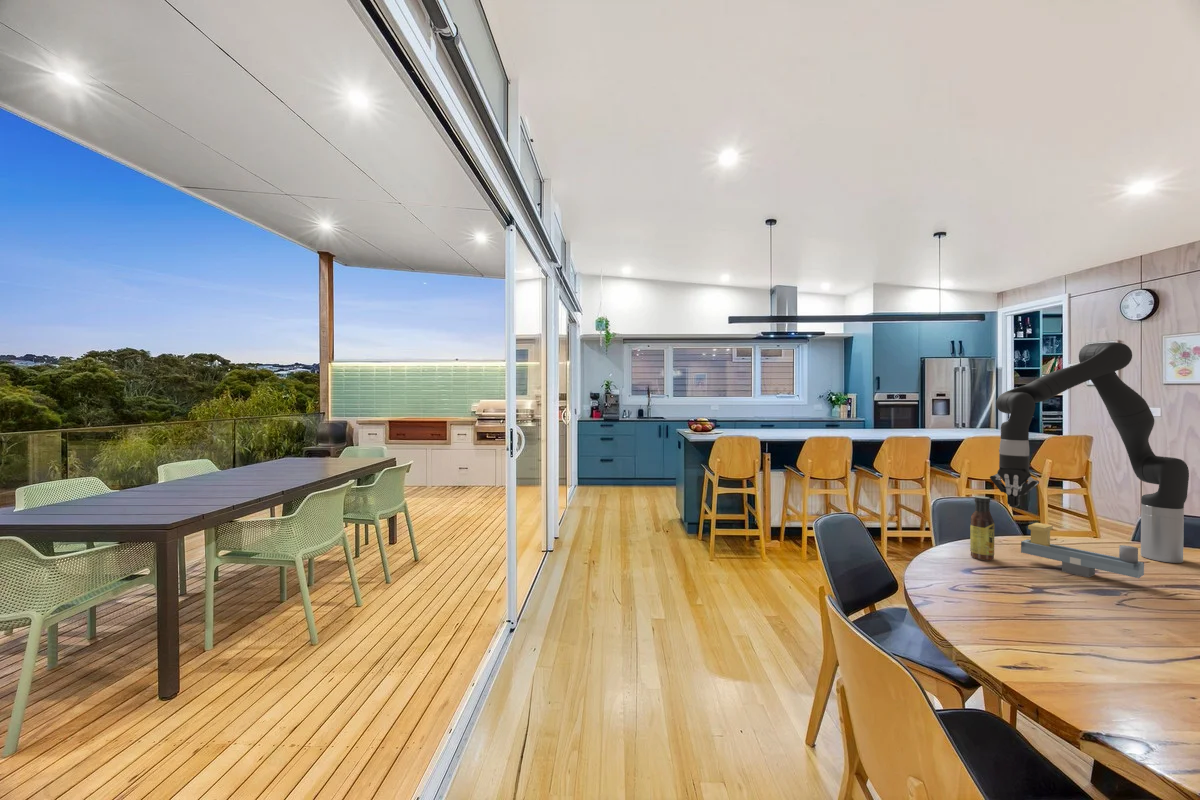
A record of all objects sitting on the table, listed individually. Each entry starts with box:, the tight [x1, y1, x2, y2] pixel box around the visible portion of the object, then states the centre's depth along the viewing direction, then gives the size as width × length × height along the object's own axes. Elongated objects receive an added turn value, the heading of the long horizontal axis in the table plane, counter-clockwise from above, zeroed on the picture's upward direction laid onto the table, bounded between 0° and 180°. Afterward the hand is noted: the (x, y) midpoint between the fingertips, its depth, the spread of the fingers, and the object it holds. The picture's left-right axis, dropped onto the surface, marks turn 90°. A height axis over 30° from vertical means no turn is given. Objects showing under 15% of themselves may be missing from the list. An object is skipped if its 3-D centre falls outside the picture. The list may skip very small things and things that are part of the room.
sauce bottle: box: [969, 495, 995, 561], centre depth 162 cm, size 7×6×20 cm
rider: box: [1027, 522, 1054, 547], centre depth 157 cm, size 4×6×7 cm, turn 121°
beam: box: [1020, 538, 1145, 579], centre depth 149 cm, size 26×5×10 cm, turn 31°
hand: (1013, 506), depth 163 cm, fingers closed
